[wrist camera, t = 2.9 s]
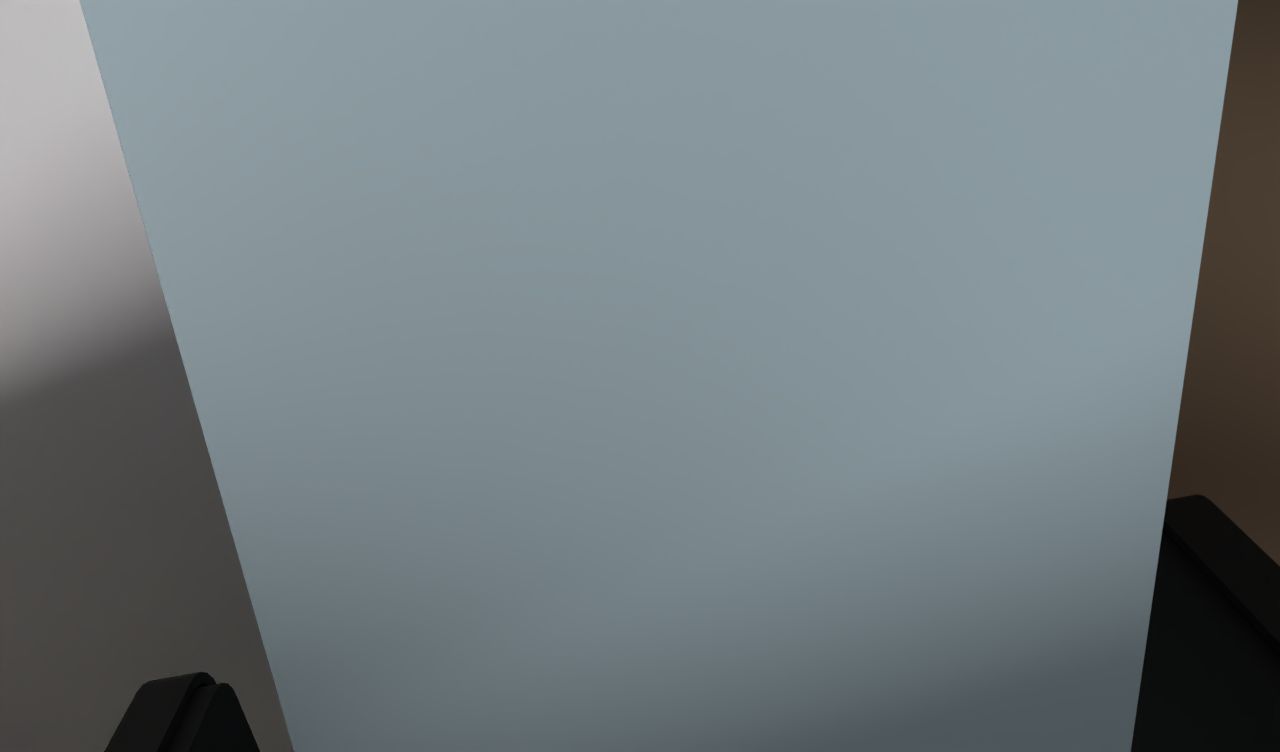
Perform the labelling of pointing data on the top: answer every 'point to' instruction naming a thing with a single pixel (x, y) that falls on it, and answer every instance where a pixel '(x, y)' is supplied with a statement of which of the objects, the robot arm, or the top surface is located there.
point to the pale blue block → (684, 355)
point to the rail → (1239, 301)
